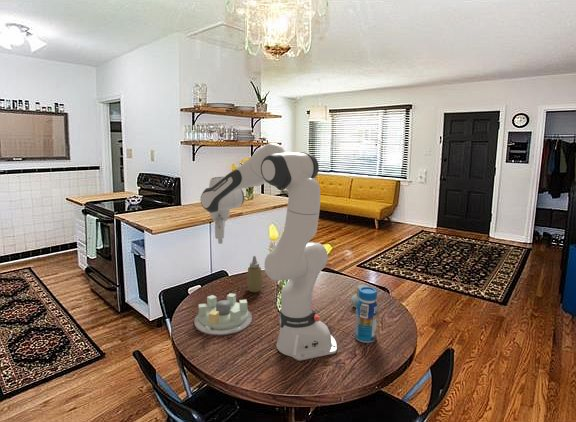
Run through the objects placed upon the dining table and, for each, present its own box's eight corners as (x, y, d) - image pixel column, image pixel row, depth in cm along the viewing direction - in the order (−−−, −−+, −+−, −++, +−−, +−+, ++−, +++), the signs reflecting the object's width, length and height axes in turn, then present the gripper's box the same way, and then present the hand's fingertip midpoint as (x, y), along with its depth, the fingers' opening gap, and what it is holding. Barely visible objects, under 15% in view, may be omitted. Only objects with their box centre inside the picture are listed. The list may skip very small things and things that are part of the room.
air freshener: (349, 310, 166) (350, 289, 164) (351, 302, 174) (352, 282, 172) (374, 313, 164) (375, 292, 162) (374, 304, 172) (376, 284, 170)
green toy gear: (212, 303, 168) (212, 290, 166) (254, 309, 162) (254, 296, 161) (189, 325, 148) (188, 311, 147) (236, 333, 143) (236, 318, 142)
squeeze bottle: (260, 286, 191) (260, 253, 187) (264, 292, 183) (264, 258, 180) (245, 288, 188) (244, 254, 185) (248, 294, 181) (248, 259, 177)
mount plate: (250, 305, 169) (250, 300, 168) (253, 333, 146) (253, 326, 145) (197, 308, 165) (196, 303, 165) (191, 337, 142) (191, 330, 142)
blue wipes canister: (350, 334, 146) (352, 287, 142) (368, 330, 149) (371, 284, 145) (361, 345, 138) (364, 296, 134) (380, 341, 141) (384, 292, 137)
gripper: (226, 217, 154) (227, 249, 156) (227, 208, 173) (227, 236, 176) (211, 218, 153) (212, 250, 155) (213, 208, 172) (214, 236, 175)
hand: (220, 242), depth 166 cm, fingers closed
